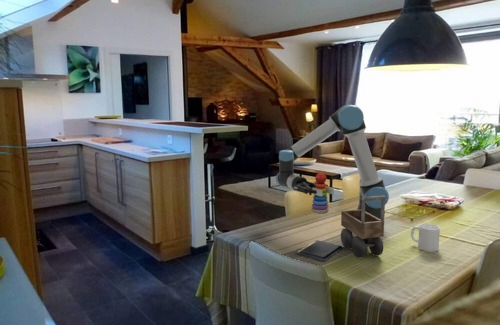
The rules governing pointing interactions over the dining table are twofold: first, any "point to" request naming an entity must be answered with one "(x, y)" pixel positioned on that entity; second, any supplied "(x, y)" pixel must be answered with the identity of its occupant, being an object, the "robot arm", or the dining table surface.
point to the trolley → (363, 229)
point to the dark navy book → (319, 250)
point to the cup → (427, 237)
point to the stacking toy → (320, 202)
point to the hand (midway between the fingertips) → (327, 192)
